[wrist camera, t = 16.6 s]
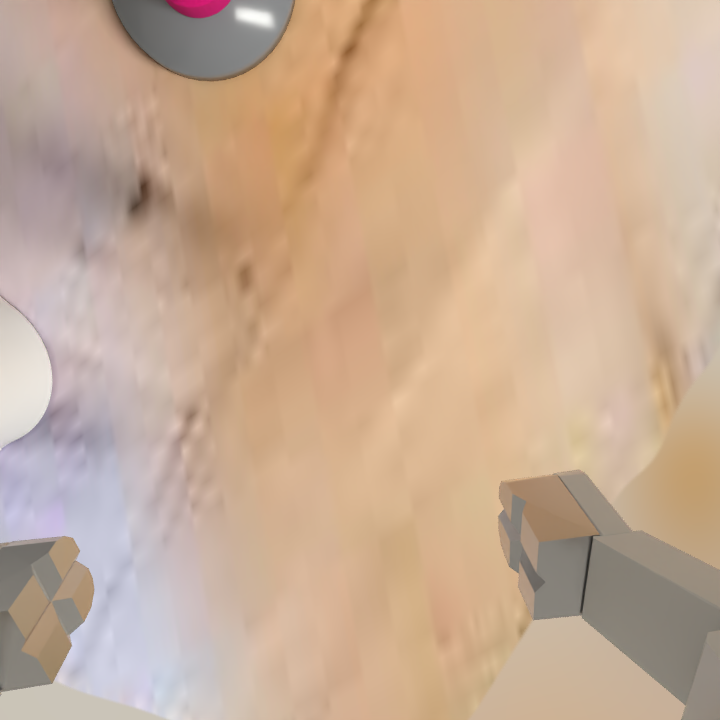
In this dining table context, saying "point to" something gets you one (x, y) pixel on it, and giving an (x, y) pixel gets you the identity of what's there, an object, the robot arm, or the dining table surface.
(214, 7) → the pepper mill
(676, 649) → the robot arm
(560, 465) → the dining table surface
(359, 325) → the dining table surface
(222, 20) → the plate
